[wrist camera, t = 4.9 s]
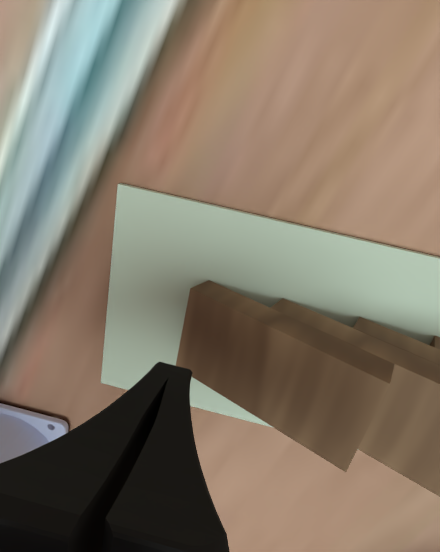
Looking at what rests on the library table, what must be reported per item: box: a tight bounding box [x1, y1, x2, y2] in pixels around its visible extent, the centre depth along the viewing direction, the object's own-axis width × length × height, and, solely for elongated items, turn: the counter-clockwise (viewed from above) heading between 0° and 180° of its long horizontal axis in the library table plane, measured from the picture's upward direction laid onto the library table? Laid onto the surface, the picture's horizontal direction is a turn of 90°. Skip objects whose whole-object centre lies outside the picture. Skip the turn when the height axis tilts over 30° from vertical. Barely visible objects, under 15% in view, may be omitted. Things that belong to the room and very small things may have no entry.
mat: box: [101, 183, 440, 428], centre depth 18 cm, size 28×12×1 cm, turn 78°
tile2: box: [270, 298, 440, 496], centre depth 15 cm, size 2×5×9 cm
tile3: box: [353, 316, 440, 365], centre depth 15 cm, size 2×5×9 cm
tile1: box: [176, 280, 395, 472], centre depth 16 cm, size 2×5×9 cm
